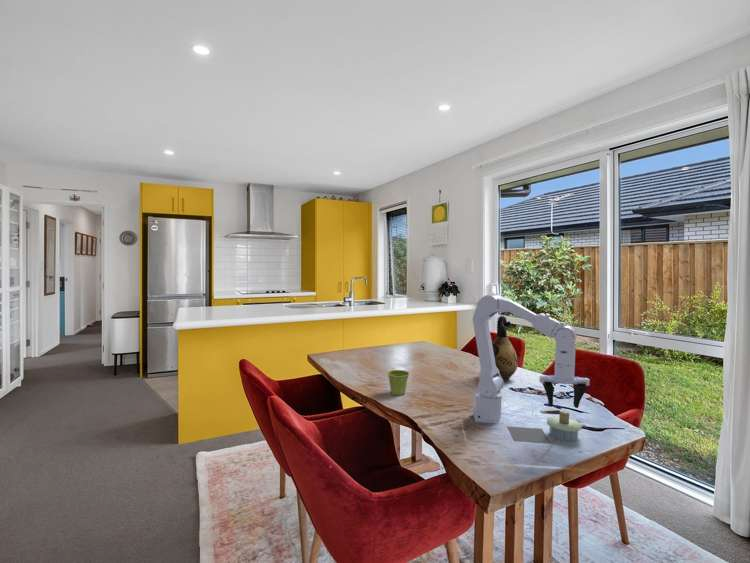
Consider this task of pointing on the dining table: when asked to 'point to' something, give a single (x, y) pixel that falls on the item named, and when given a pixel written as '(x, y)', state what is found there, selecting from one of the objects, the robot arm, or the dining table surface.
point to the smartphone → (556, 411)
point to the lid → (564, 422)
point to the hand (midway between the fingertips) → (563, 406)
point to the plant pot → (398, 381)
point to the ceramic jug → (504, 350)
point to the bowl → (563, 434)
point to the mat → (528, 434)
